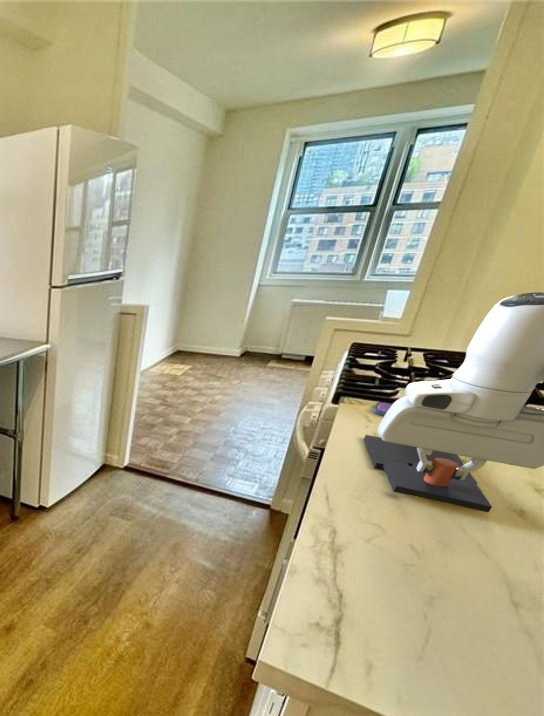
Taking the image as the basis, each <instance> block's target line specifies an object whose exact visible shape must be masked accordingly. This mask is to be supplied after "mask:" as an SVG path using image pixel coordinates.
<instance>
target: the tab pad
mask: <svg viewBox="0 0 544 716" xmlns="http://www.w3.org/2000/svg"><path fill="white" fill-rule="evenodd" d="M432 464H433V465H434V467H433V469H432V470H431V472H430V474H428V473H423V472H418V471H417V465H418V463H417V462H414V463H413V465H412V467H411V466H406V465H401V464H396V463H391V462H385V464H384V466H383V468H384V470H383V471H384V472H385V475H386V478H387V480H388V482H389V485H390V487H391V490H392V492H393V493H397V494H401V495H405V496H411V497H416V498H420V499H425V500H429V501H434V502H439V503H443V504H446V505H452V506H457V507H459V508H460V507H461V508H465V509H470V510H474V511H479V512H483V513H487V514H489V513H490V511H491V510H492V508H493V505H492V504H491V503H490V501H489V500H488V499H487V497H486V496H485V494H484V493H483V491H482V490H481V488H480V487H479V485H478V483H477V484H476V483H475V481H476V480H475V481H474V480H473V479H471V478H465V480H464V481H462V480H457V479H452V478H451V477H452V476H453V474H454V472H455V471H456V469H457V467H458V464H457V463H456V462H454V461H451V460H448V459H444V458H435V459H434V461H433V463H432Z"/></svg>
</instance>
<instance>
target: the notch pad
mask: <svg viewBox="0 0 544 716" xmlns="http://www.w3.org/2000/svg"><path fill="white" fill-rule="evenodd" d="M363 442H364V444H365V445H364V446H365V447H366V450H367V452H368V455H369V458H370V460H371V463H372V466H373V468H374V469H375V470H381V471H385V470H384V468H383V466H384V464H385V462H391V463H396V464H401V465H406V466H411V467H412V465H413V463H414V462H417V463H419V462H420V458H419V454H418V451H417V448H418V447H413V446H407V445H402V444H397V443H391V442H386V441H383V440H382V438H381V437H380V436H376V435H375V436H374V435H369V434H365V435H364V438H363ZM426 458H427V461H432V463H433V461H434V459H435V458H444V459H448V460H451V461H454V462H456V463H457V464H458V467H461V466H463V465H465V463H464V462H463V461H462V459H461V458H460V456H459V455H456V454H451V453H445V452H440V451H434V450H433V452H432V454H431V455H427V454H426ZM466 478H471V479H473V480H474V481H475V483H476V484H477V485H478V482H477V481H476V479H475V478H474V476H473V474H471V473H468V475H467V477H466Z"/></svg>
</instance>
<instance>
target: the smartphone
mask: <svg viewBox="0 0 544 716" xmlns="http://www.w3.org/2000/svg"><path fill="white" fill-rule="evenodd" d="M392 404H393V403H390V402H389V403H388V402H384V401H379V402H377V403H376V406H375V407H374V410H373V412H374V413H375V414H377V415H381V416H385V414H386V413H387V411H388V410H389V408H390V407H391V406H392Z"/></svg>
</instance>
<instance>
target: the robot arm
mask: <svg viewBox="0 0 544 716" xmlns="http://www.w3.org/2000/svg"><path fill="white" fill-rule="evenodd" d="M541 382H544V292H543V291H539V292H537V291H536V292H523V293H519V294H513V295H511V296H508V297H505V298H503V299H501V300H500V301H498V303H496V304H495V305H494V306H493V307H492V308H491V309H490V310H489V311H488V313H487V314H486V315H485V317H484V319H483V320H482V322H481V323H480V324H479V326H478V328H477V330H476V331H475V333H474V335H473V336H472V339H471V340H470V342H469V344H468V346H467V348H466V351H465V358H464V361H463V362H462V363H461V364H460V366H459V367H458V368H457V369H456V370H455V371H454V373H453V374H452V376H451V378H450V379H441V380H431V381H418V382H410V383H408V384H407V385H406V387H405V389H404V396H403V397H400V398H398V399H396V400H395V401H394V402H392V403H391V404H392V406H391V407H390V408H389V410H388V411H387V413H386V414H385V415H383V418H382V419H381V420H380V422H379V424H378V427H377V433H378V435H379V437H381V438H382V440H383V441H386V442H391V443H397V444H402V445H407V446H413V447H418V448H417V451H418V454H419V458H420V462H419V463H418V465H417V471H418V472H423V473H428V474H430V472H431V470H432V469H433V467H434V465H433V464H432V461H427V458H426V454H427V455H431V454H432V452H433V450H434V451H440V452H445V453H451V454H456V455H458V456H461V457H462V456H463V457H467V458H469V461H468V462H466V463H464V465H463V466H461V467H457V469H456V471H455V472H454V474H453V476H452V477H451V478H452V479H457V480H462V481H464V480H465V478H466V477H467V475H468V473H470V474H471V473H472V472H474V471H477V470H479V469H481V468H483V467H484V466H485V465H486V463H487V461H489V462H494V463H500V464H505V465H510V466H514V467H515V466H516V467H520V468H527V469H533V470H536V469H538V468H541V467H543V466H544V408H539V407H536V406H535V407H534V406H530V405H529V406H528V405H525V404H526V402H527V401H528V399H529V398H530V396H531V395H532V393H533V391H534V389H535V388H536V386H537V385H538V384H539V383H541Z"/></svg>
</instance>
